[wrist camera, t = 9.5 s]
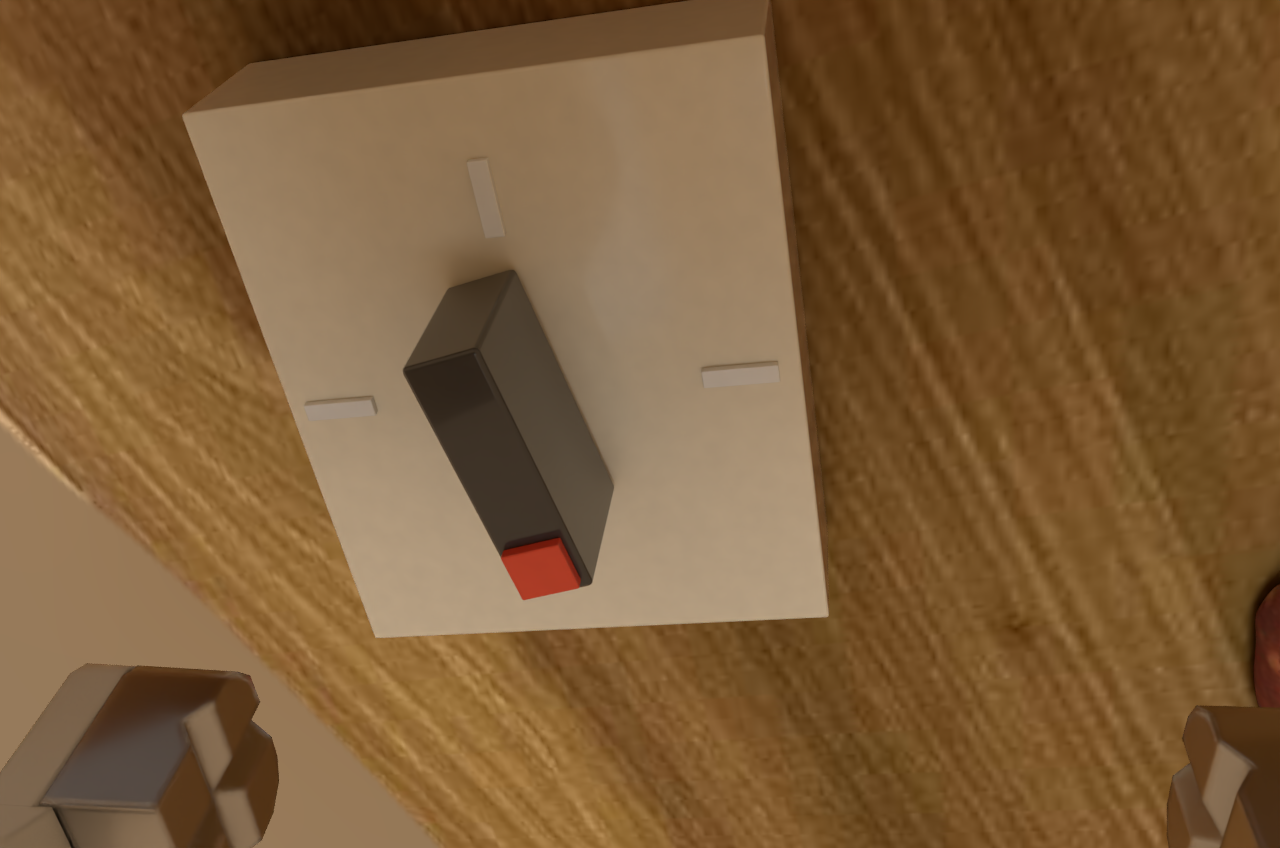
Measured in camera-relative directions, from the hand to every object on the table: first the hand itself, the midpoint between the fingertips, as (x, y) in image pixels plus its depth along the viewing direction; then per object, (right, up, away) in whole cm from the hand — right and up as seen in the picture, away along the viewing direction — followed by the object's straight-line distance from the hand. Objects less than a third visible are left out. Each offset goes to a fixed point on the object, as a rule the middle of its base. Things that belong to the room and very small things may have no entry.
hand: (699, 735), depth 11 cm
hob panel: (-2, +5, +15) cm, 16 cm away
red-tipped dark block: (-3, +3, +12) cm, 13 cm away
